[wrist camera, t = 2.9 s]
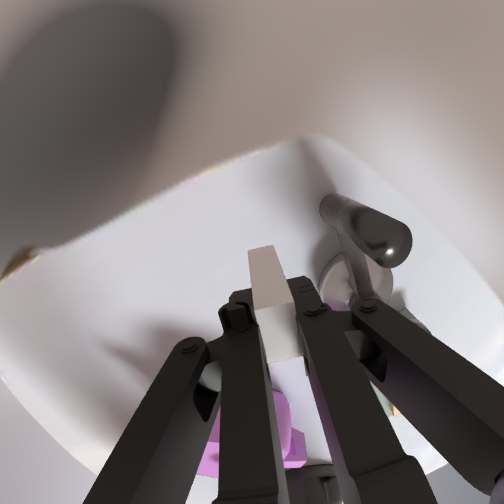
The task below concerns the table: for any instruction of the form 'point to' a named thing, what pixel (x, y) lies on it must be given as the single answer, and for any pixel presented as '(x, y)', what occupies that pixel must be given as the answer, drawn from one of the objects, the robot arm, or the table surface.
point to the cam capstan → (362, 253)
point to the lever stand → (385, 403)
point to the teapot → (289, 437)
